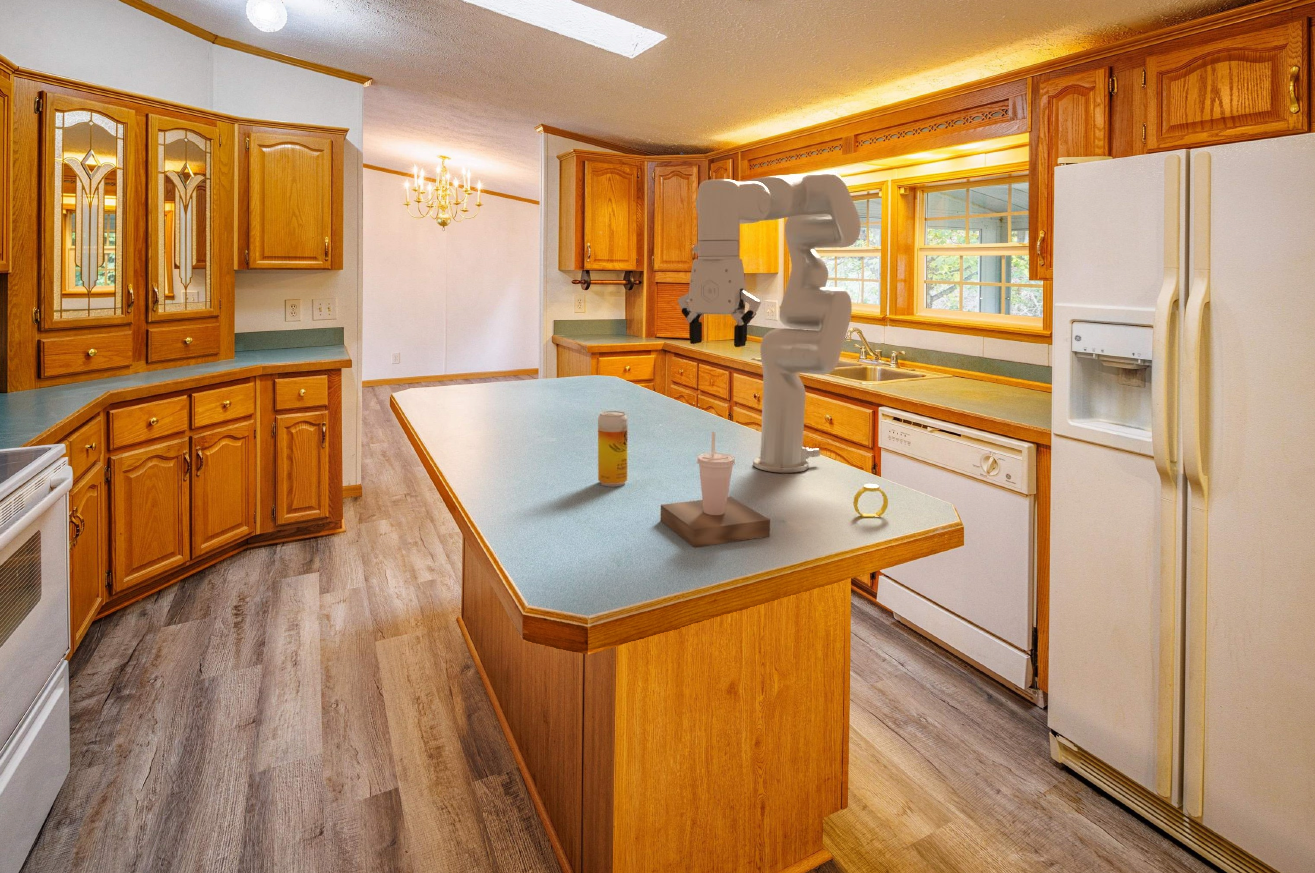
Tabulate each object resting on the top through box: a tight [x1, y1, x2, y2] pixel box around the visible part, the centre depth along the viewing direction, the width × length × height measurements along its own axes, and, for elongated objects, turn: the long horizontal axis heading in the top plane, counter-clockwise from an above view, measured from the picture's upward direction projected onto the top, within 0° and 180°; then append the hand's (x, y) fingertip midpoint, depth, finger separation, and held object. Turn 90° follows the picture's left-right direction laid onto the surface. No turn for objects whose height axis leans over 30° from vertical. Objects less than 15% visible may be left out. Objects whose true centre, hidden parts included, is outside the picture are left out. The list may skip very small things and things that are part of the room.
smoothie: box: [696, 431, 736, 515], centre depth 124 cm, size 6×6×14 cm
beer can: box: [597, 410, 628, 488], centre depth 151 cm, size 6×6×15 cm
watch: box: [853, 483, 889, 518], centre depth 133 cm, size 6×3×6 cm, turn 93°
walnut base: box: [660, 496, 771, 548], centre depth 126 cm, size 14×14×3 cm
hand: (717, 344), depth 137 cm, fingers open, 9 cm apart
